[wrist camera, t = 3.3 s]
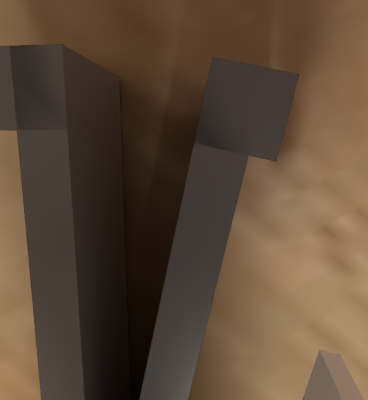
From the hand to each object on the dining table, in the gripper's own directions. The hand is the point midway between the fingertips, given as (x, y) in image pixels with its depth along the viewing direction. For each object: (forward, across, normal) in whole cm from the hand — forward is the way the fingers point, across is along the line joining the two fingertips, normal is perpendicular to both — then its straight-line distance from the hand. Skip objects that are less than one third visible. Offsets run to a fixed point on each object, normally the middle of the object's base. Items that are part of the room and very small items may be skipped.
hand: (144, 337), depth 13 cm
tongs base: (+8, -1, +6) cm, 10 cm away
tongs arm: (+8, +4, +2) cm, 9 cm away
